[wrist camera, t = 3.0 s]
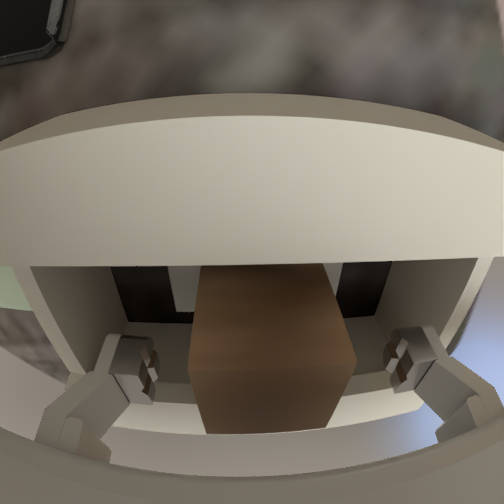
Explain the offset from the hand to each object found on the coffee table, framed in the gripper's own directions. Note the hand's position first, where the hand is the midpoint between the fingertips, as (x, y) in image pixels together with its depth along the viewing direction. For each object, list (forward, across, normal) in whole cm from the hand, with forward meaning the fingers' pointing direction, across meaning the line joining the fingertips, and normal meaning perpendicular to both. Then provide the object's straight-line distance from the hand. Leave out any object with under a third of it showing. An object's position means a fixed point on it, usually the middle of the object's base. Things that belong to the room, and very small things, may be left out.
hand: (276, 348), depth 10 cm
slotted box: (+7, 0, 0) cm, 7 cm away
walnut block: (+5, 0, 0) cm, 5 cm away
